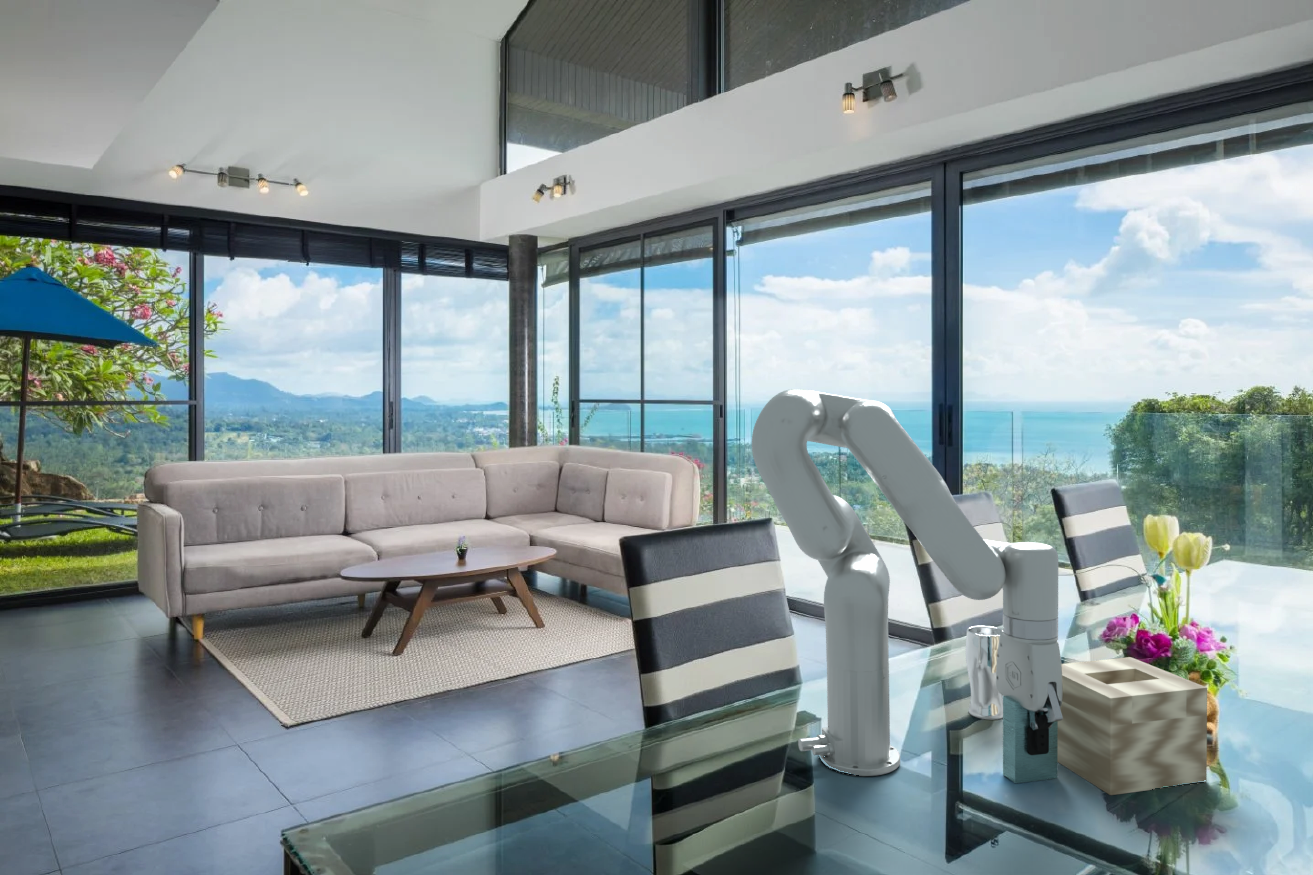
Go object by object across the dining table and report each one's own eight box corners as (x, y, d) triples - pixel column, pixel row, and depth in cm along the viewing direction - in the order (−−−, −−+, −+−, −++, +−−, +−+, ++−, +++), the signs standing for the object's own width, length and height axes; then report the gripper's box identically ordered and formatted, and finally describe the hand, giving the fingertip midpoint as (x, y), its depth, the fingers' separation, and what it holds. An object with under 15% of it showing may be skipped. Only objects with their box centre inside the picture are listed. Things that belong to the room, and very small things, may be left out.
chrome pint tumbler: (1011, 721, 150) (1011, 636, 149) (969, 719, 151) (968, 635, 150) (1003, 707, 157) (1003, 625, 156) (963, 705, 158) (962, 624, 157)
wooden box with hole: (1110, 795, 122) (1110, 698, 122) (1042, 752, 137) (1042, 665, 136) (1206, 782, 126) (1207, 687, 125) (1130, 741, 140) (1130, 656, 140)
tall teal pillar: (1015, 783, 127) (1015, 703, 126) (1003, 774, 130) (1003, 695, 129) (1057, 777, 128) (1057, 698, 127) (1044, 769, 131) (1044, 691, 130)
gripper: (976, 615, 135) (976, 730, 136) (1043, 644, 119) (1042, 775, 120) (1019, 611, 136) (1018, 725, 137) (1090, 640, 120) (1090, 769, 121)
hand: (1030, 747), depth 129 cm, fingers closed on tall teal pillar, 3 cm apart
